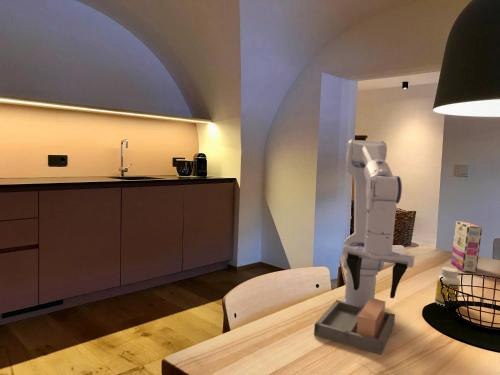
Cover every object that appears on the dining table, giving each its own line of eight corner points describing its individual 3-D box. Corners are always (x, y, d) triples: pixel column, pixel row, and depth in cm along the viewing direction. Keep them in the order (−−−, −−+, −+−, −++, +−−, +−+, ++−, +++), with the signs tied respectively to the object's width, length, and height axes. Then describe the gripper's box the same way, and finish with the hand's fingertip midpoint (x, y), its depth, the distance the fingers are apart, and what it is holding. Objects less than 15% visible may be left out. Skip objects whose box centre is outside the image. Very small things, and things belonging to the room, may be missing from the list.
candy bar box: (477, 273, 134) (483, 227, 132) (462, 272, 134) (467, 226, 133) (464, 264, 145) (469, 221, 143) (450, 262, 145) (455, 220, 144)
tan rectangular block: (368, 318, 91) (370, 297, 90) (383, 322, 89) (385, 301, 88) (356, 338, 80) (358, 316, 80) (373, 343, 78) (375, 320, 78)
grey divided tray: (335, 309, 97) (336, 300, 96) (394, 324, 90) (395, 314, 90) (313, 334, 83) (314, 323, 82) (381, 354, 76) (382, 342, 76)
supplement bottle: (447, 309, 101) (451, 273, 100) (430, 301, 105) (434, 266, 104) (461, 306, 103) (465, 271, 102) (444, 299, 108) (448, 265, 107)
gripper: (341, 229, 82) (336, 290, 84) (413, 240, 75) (407, 307, 77) (349, 224, 88) (345, 281, 90) (417, 234, 81) (411, 296, 83)
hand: (374, 292), depth 84 cm, fingers open, 7 cm apart
